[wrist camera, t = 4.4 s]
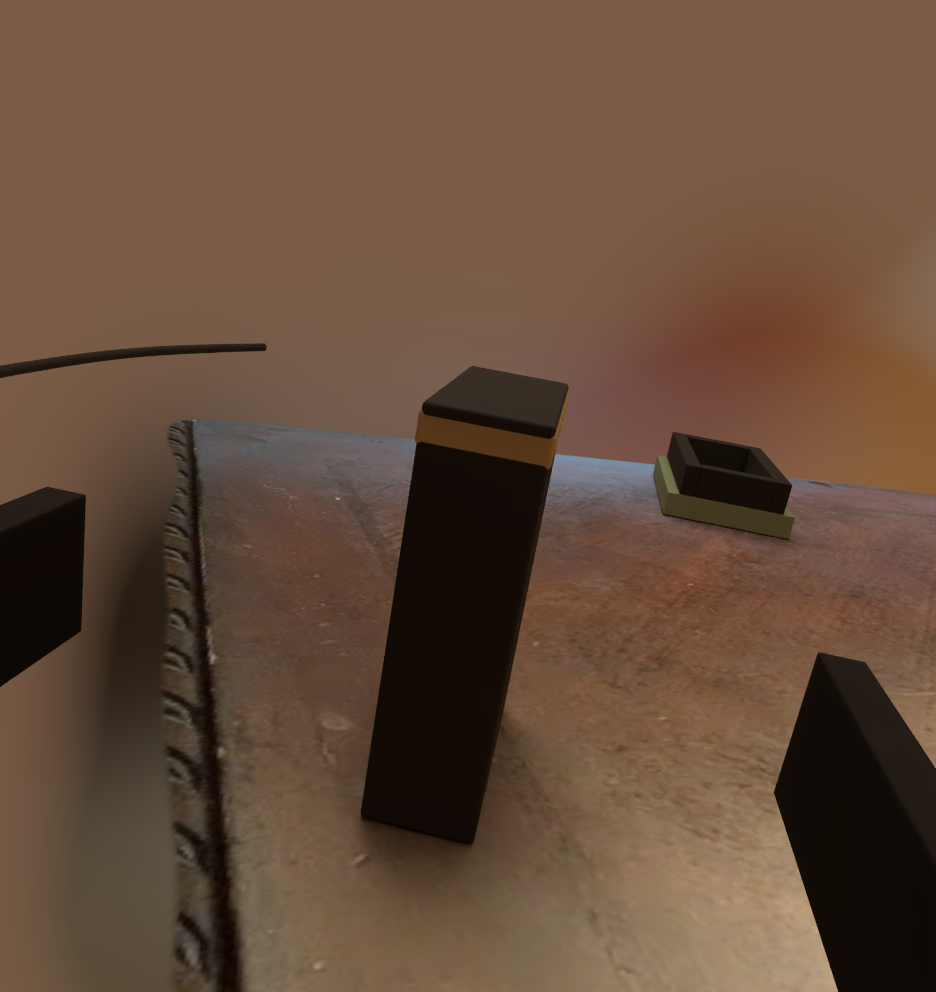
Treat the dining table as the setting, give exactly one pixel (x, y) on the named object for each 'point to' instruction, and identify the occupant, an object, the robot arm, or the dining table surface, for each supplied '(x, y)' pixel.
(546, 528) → the dining table surface
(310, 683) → the dining table surface
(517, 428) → the dark brown banded block
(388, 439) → the dining table surface
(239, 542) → the dining table surface
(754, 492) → the black and green tray
